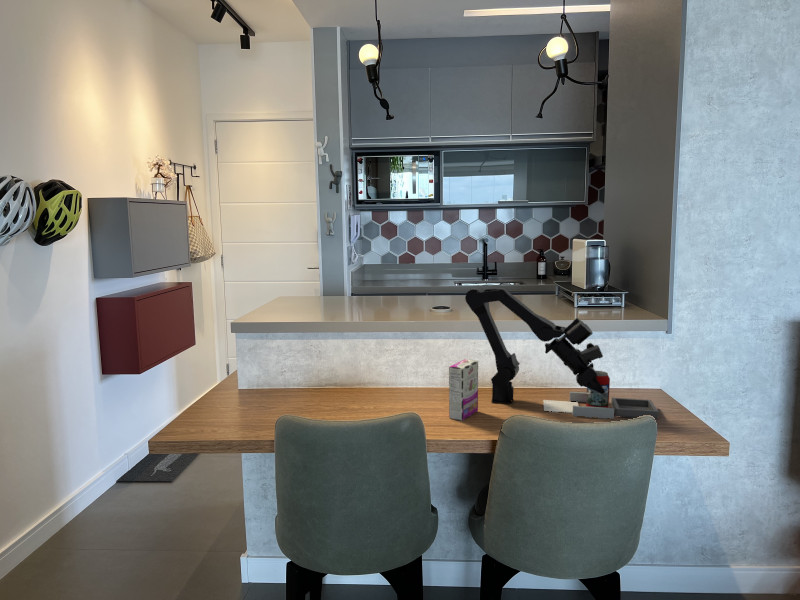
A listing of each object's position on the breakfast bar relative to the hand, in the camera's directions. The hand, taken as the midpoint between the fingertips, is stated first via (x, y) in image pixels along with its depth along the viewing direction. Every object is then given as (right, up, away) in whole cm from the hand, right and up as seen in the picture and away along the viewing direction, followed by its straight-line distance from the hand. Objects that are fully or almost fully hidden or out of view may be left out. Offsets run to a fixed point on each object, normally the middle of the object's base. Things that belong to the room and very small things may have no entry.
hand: (602, 389), depth 192 cm
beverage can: (-1, -7, +1) cm, 7 cm away
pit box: (+9, -7, -1) cm, 12 cm away
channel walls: (-3, -6, +2) cm, 7 cm away
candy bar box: (-44, -7, -4) cm, 45 cm away
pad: (-12, -6, +3) cm, 14 cm away
